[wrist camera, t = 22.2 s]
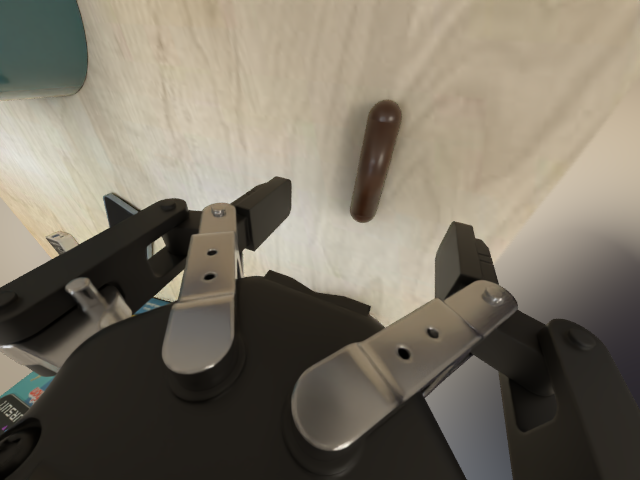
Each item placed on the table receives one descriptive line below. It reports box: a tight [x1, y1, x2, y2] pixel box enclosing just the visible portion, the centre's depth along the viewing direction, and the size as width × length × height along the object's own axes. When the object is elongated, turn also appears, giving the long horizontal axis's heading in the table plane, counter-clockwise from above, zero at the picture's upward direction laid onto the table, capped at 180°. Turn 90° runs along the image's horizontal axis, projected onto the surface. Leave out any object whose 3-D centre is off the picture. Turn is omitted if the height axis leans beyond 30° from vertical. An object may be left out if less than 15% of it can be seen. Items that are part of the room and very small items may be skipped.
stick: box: [350, 100, 402, 223], centre depth 18 cm, size 9×2×2 cm, turn 174°
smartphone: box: [103, 194, 152, 260], centre depth 39 cm, size 7×1×15 cm
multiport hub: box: [46, 231, 78, 255], centre depth 51 cm, size 4×11×2 cm, turn 0°
